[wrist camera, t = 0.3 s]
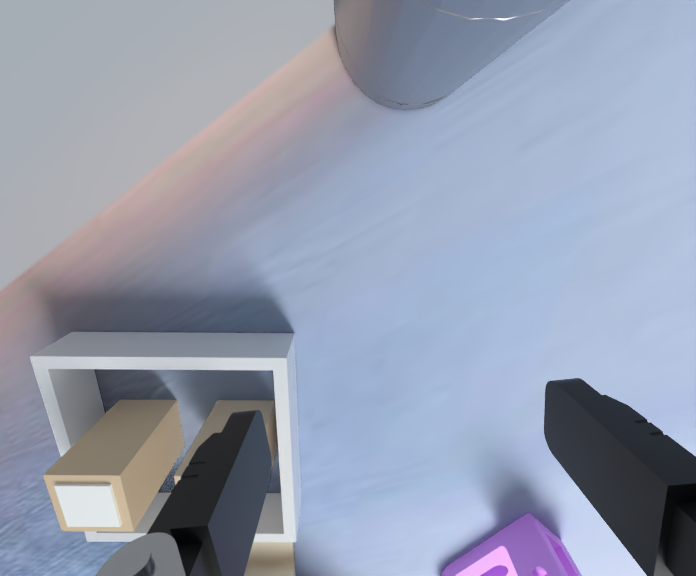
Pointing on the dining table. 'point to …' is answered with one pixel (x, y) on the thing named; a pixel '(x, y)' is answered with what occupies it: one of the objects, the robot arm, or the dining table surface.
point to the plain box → (220, 418)
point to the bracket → (517, 553)
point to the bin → (174, 354)
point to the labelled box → (116, 467)
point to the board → (271, 559)
